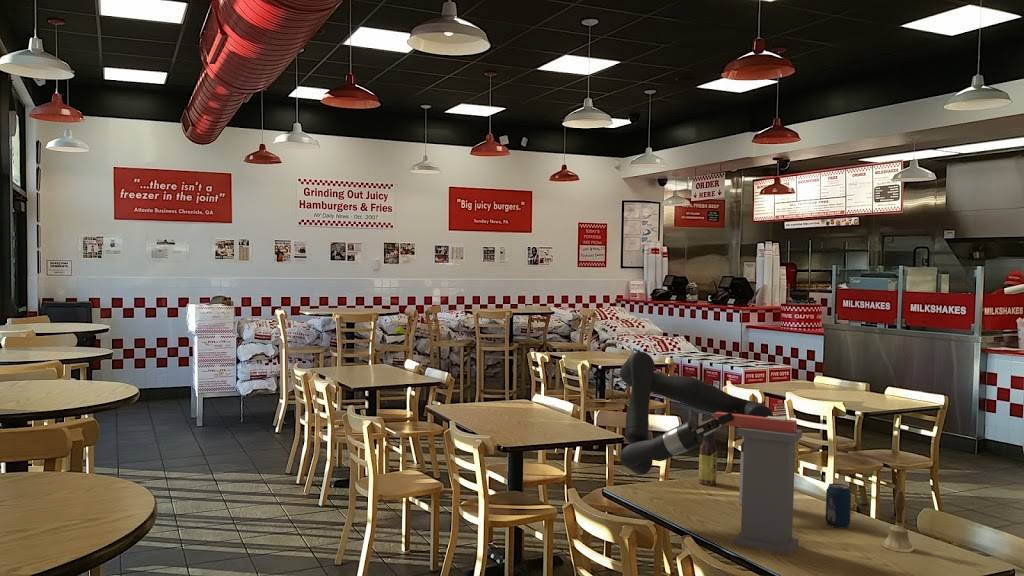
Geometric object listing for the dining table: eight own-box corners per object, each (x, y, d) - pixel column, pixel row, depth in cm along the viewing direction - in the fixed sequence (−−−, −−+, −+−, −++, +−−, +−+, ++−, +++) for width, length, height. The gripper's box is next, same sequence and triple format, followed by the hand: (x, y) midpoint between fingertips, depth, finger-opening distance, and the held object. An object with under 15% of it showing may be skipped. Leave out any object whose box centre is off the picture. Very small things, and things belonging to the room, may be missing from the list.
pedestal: (734, 544, 224) (737, 428, 223) (744, 535, 232) (747, 423, 232) (790, 555, 216) (794, 435, 215) (798, 545, 224) (802, 430, 224)
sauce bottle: (716, 486, 287) (718, 430, 287) (698, 485, 288) (700, 429, 288) (715, 482, 294) (717, 427, 293) (698, 480, 295) (699, 426, 295)
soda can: (850, 524, 246) (851, 484, 246) (849, 530, 240) (850, 489, 240) (826, 520, 249) (827, 481, 249) (824, 526, 243) (825, 486, 243)
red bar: (713, 423, 230) (713, 411, 230) (717, 422, 233) (717, 410, 233) (793, 433, 219) (793, 420, 219) (796, 431, 222) (796, 419, 222)
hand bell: (921, 552, 222) (923, 494, 221) (893, 553, 220) (895, 494, 220) (901, 542, 230) (903, 486, 230) (875, 543, 228) (877, 486, 228)
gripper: (668, 430, 231) (721, 405, 224) (684, 423, 243) (735, 399, 236) (680, 454, 230) (733, 430, 222) (696, 446, 242) (747, 423, 234)
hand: (734, 414), depth 229 cm, fingers closed on red bar, 3 cm apart
